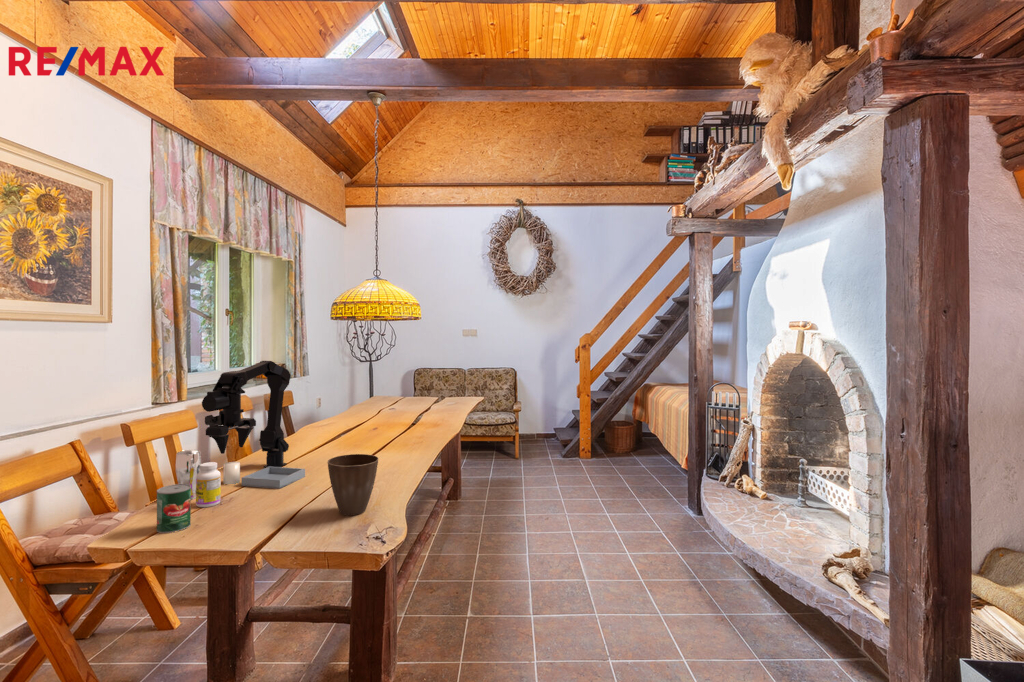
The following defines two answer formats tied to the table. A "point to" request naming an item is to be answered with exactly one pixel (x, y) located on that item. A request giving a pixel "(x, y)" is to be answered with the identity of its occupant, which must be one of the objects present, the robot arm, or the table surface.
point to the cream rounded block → (231, 473)
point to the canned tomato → (173, 508)
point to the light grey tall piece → (188, 468)
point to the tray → (273, 477)
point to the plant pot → (352, 481)
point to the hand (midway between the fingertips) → (232, 450)
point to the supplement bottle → (208, 485)
